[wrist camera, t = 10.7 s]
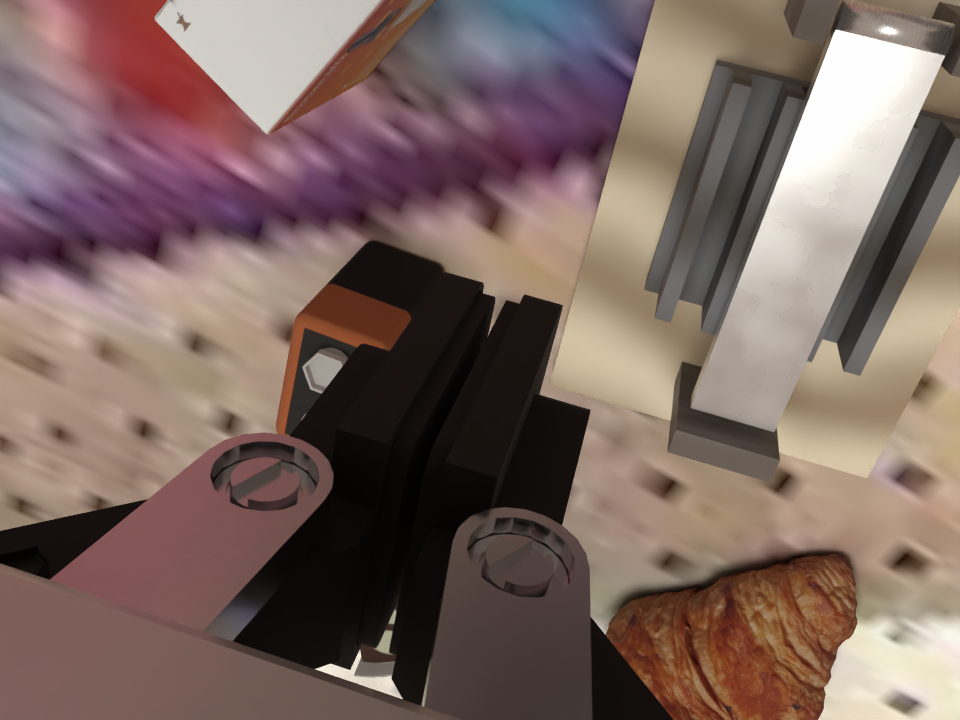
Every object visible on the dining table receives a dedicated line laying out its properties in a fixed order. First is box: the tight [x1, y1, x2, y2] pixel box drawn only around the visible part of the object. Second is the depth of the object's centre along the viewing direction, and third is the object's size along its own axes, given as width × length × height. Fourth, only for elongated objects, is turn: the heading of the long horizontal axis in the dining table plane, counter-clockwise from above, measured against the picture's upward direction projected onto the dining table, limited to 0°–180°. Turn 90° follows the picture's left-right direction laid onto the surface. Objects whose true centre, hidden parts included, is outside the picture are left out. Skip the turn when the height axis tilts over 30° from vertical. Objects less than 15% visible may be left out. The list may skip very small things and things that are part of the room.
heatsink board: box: [550, 0, 960, 482], centre depth 35 cm, size 24×16×8 cm, turn 169°
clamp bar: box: [691, 0, 956, 432], centre depth 33 cm, size 17×4×1 cm, turn 169°
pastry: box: [606, 553, 857, 720], centre depth 49 cm, size 17×15×8 cm
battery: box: [276, 242, 443, 436], centre depth 42 cm, size 4×7×10 cm, turn 164°
